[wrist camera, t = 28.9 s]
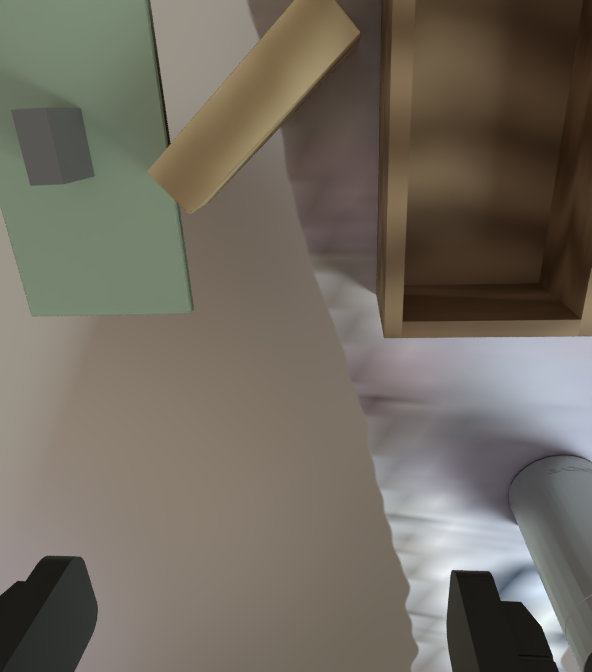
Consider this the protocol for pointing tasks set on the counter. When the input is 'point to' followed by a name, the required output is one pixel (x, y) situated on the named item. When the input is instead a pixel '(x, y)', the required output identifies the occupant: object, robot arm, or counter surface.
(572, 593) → the robot arm
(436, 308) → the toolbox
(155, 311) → the lid
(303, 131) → the counter surface
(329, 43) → the tan block
